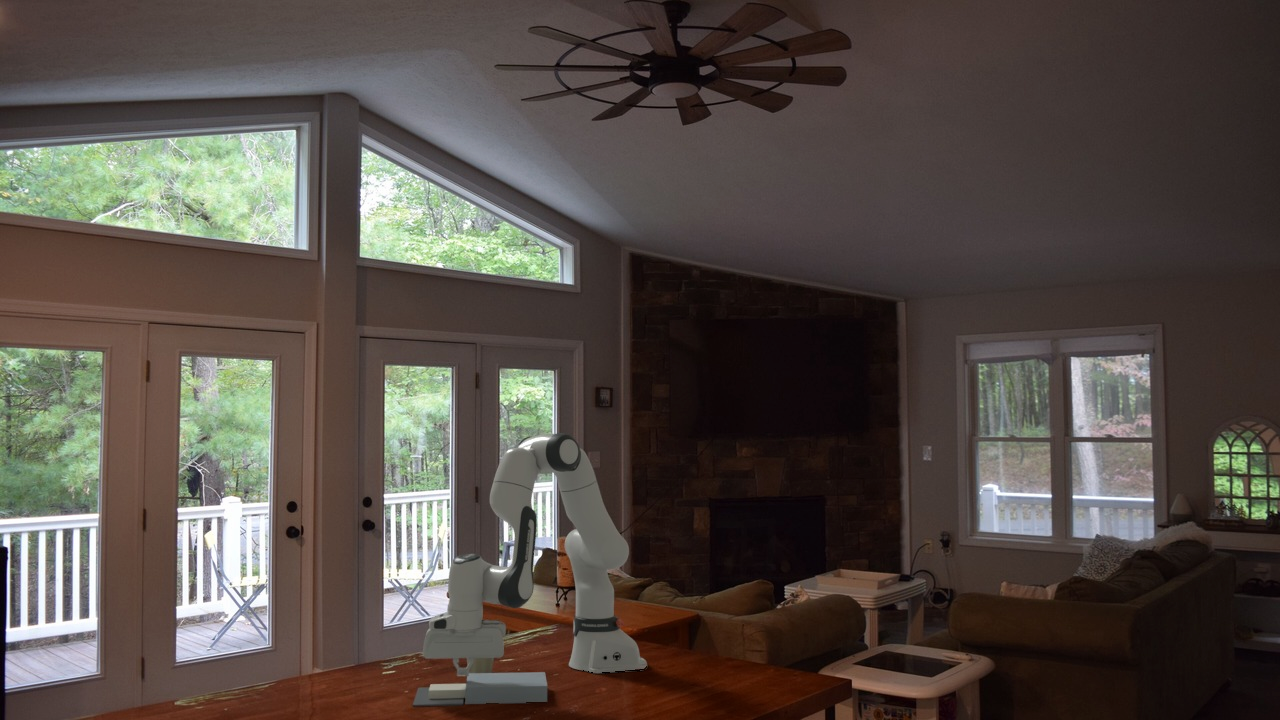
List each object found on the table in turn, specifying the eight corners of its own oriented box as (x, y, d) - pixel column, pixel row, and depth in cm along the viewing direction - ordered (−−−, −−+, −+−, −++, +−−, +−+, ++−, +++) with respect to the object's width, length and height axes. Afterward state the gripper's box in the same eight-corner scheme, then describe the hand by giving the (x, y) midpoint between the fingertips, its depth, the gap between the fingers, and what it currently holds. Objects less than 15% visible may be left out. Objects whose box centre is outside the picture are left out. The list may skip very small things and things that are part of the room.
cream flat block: (466, 691, 247) (466, 683, 247) (465, 697, 241) (465, 689, 241) (430, 692, 246) (430, 684, 246) (428, 698, 240) (428, 690, 240)
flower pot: (503, 674, 267) (504, 642, 268) (487, 682, 258) (488, 649, 259) (473, 671, 270) (474, 639, 271) (456, 678, 261) (457, 646, 262)
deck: (544, 687, 253) (545, 672, 254) (547, 702, 240) (547, 686, 240) (467, 689, 251) (467, 673, 251) (465, 704, 237) (465, 687, 237)
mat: (465, 688, 252) (465, 686, 252) (462, 705, 236) (462, 703, 236) (418, 689, 250) (418, 687, 250) (412, 706, 234) (412, 704, 234)
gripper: (506, 617, 250) (504, 672, 249) (425, 617, 247) (423, 673, 246) (506, 622, 243) (504, 678, 242) (423, 622, 241) (421, 679, 239)
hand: (462, 675), depth 244 cm, fingers closed
